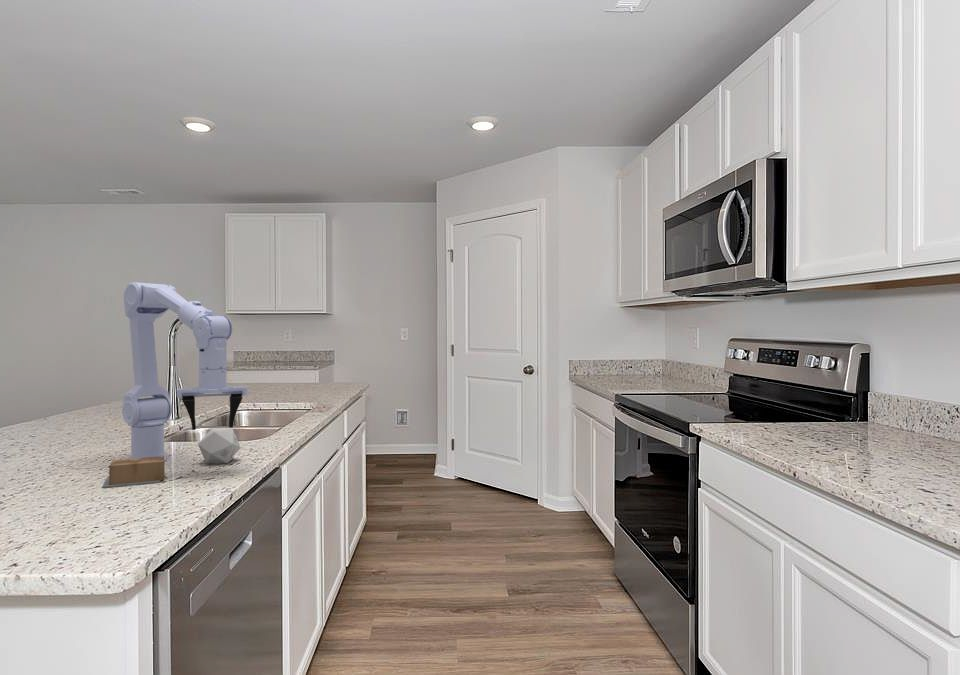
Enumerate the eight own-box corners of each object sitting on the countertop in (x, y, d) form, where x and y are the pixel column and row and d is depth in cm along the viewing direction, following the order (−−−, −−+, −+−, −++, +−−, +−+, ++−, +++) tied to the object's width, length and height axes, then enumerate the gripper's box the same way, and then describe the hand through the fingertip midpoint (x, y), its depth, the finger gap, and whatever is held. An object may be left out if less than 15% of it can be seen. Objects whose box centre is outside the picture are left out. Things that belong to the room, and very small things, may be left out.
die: (213, 470, 140) (240, 435, 143) (184, 450, 142) (211, 415, 145) (227, 475, 148) (252, 441, 151) (199, 456, 150) (225, 422, 153)
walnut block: (164, 473, 133) (112, 478, 129) (164, 455, 133) (112, 460, 129) (163, 479, 128) (109, 485, 123) (163, 461, 128) (109, 465, 123)
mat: (107, 478, 130) (107, 476, 130) (161, 473, 135) (161, 471, 135) (101, 488, 122) (101, 486, 122) (160, 482, 127) (160, 481, 127)
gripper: (176, 370, 128) (176, 433, 128) (248, 369, 134) (248, 428, 134) (177, 368, 134) (177, 428, 134) (245, 366, 140) (245, 423, 141)
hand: (212, 428), depth 135 cm, fingers open, 7 cm apart
